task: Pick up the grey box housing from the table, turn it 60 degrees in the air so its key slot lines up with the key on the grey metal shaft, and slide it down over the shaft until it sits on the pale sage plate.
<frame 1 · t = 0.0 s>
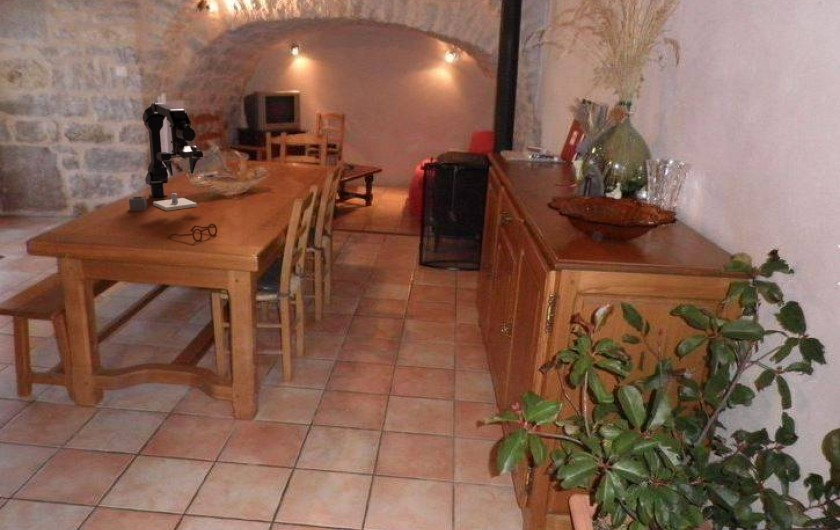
hand: (181, 174, 278), 15 cm above the table, fingers open, 9 cm apart
grey box housing: (138, 209, 277), on the table
glasses: (192, 237, 240), on the table
base plate: (175, 205, 285), on the table
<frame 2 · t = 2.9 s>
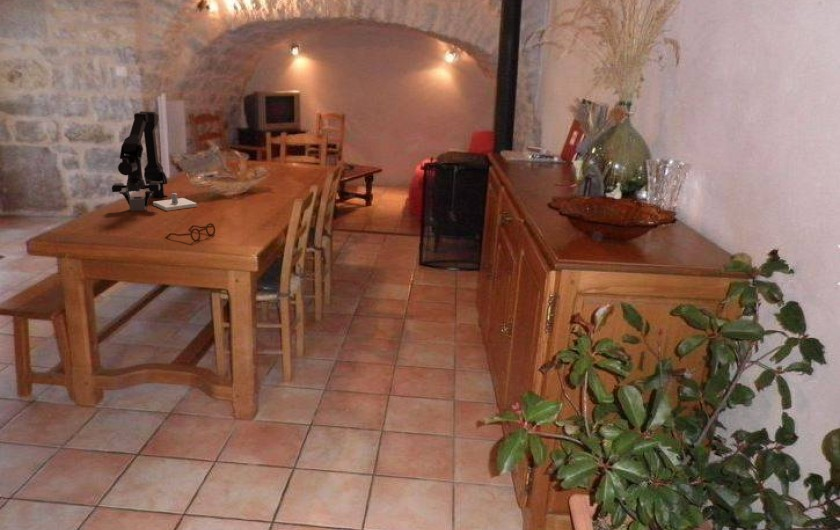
hand: (138, 206, 277), 1 cm above the table, fingers closed on grey box housing, 6 cm apart
grey box housing: (138, 209, 277), on the table, touching gripper
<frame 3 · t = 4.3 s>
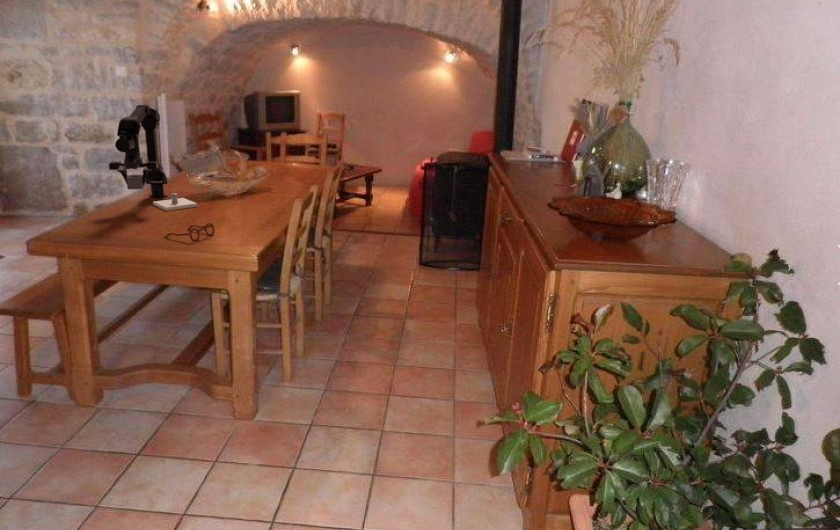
hand: (136, 185, 274), 11 cm above the table, fingers closed on grey box housing, 6 cm apart
grey box housing: (136, 187, 274), point 9 cm above the table, touching gripper
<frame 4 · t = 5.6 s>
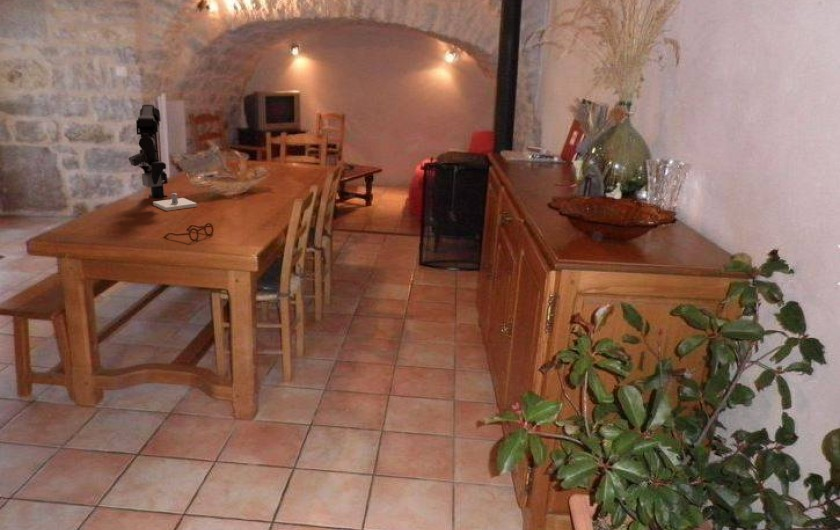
hand: (152, 183, 277), 11 cm above the table, fingers closed on grey box housing, 6 cm apart
grey box housing: (152, 185, 278), point 10 cm above the table, touching gripper
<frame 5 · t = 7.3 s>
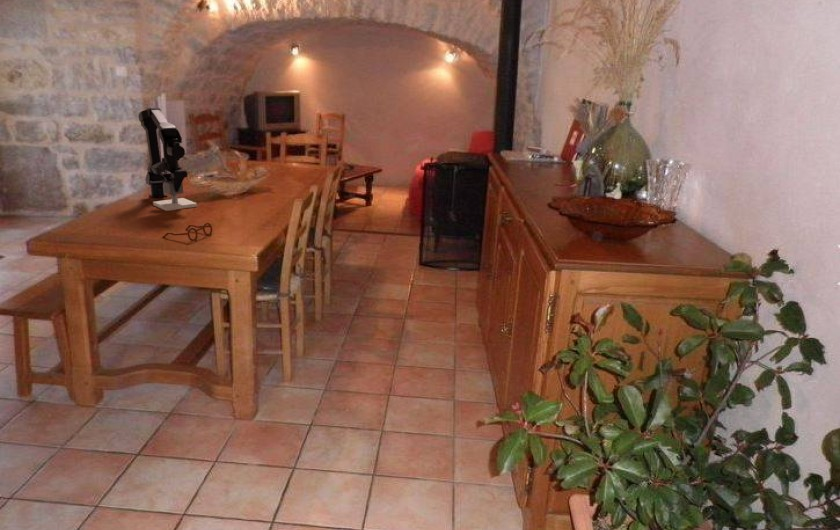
hand: (173, 190, 283), 7 cm above the table, fingers closed on grey box housing, 6 cm apart
grey box housing: (173, 192, 283), point 6 cm above the table, touching gripper
when the fingers open (3 cm above the table, at t = 8.7 s): grey box housing stays where it is, resting on base plate.
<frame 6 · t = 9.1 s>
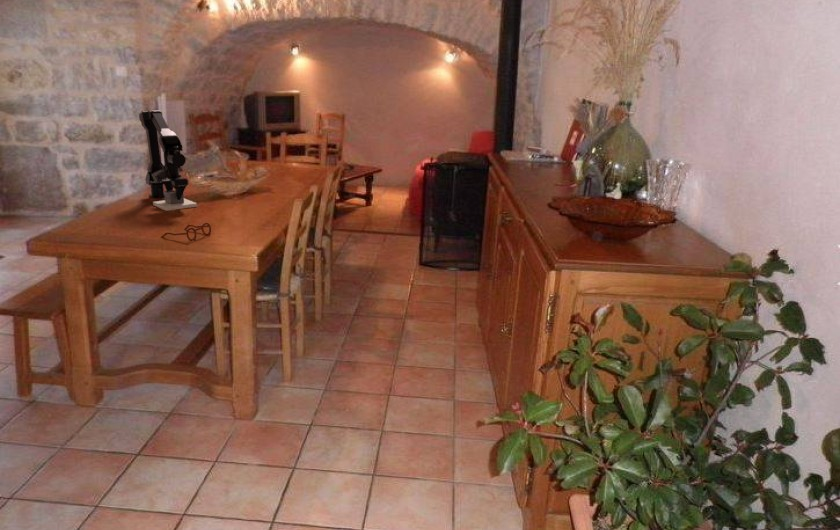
hand: (174, 198, 284), 3 cm above the table, fingers open, 9 cm apart
grey box housing: (174, 202, 285), point 1 cm above the table, touching base plate
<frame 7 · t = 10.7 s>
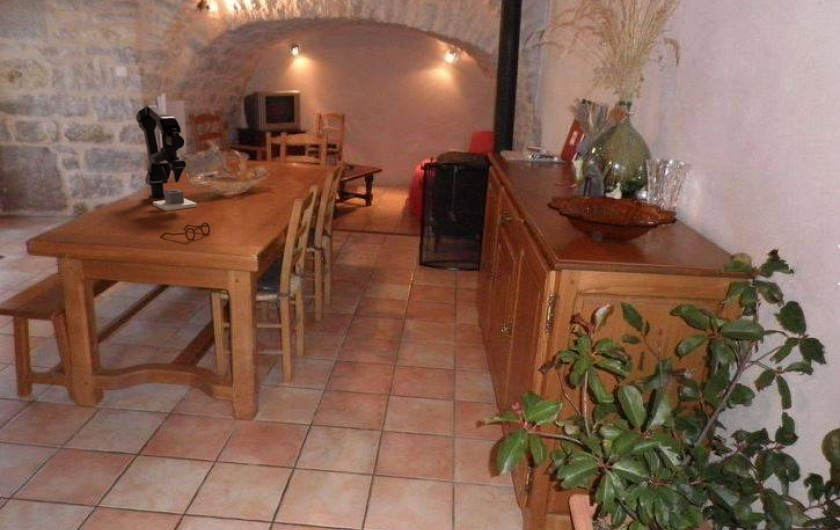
hand: (172, 180, 284), 11 cm above the table, fingers open, 9 cm apart
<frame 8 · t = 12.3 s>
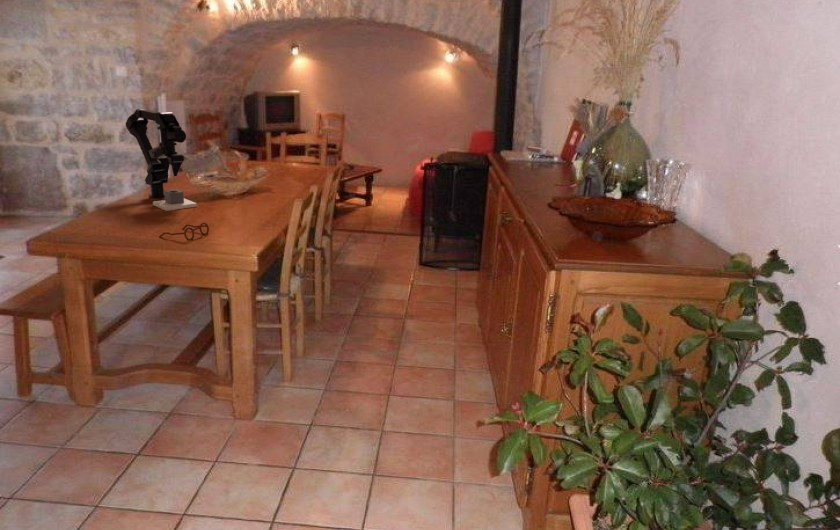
hand: (170, 174, 291), 12 cm above the table, fingers open, 9 cm apart
at the end: grey box housing 0.1 cm off-centre on the base plate, point 1.5 cm above the base plate's base; grey box housing tilted 0°; the gripper is holding nothing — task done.
